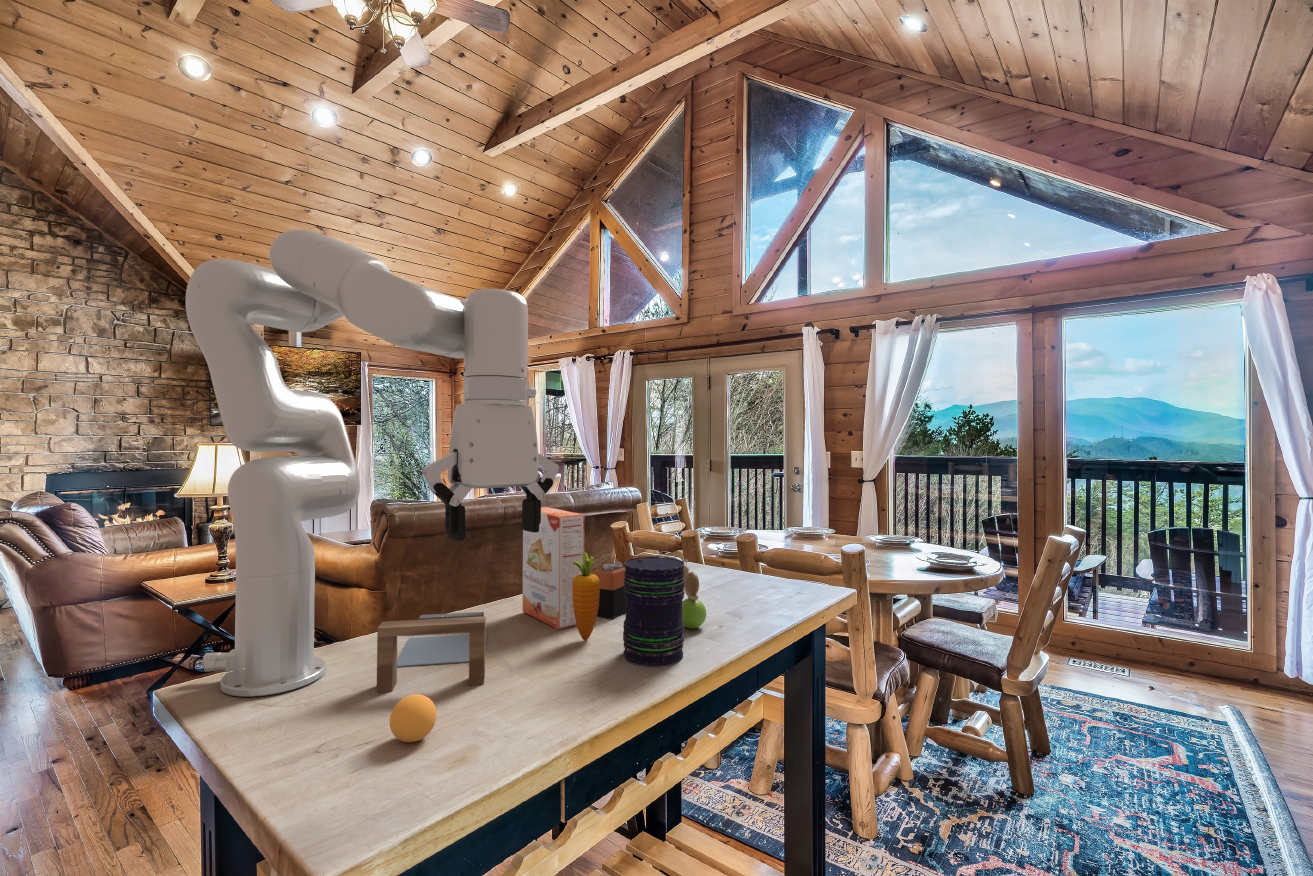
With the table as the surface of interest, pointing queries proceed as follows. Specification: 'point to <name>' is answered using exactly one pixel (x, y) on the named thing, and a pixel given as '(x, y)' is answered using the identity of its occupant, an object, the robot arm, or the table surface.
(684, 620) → the snail figurine
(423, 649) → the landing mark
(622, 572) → the battery
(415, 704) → the ball
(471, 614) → the wall
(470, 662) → the bridge
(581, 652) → the table surface
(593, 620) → the carrot
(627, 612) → the dark blue cylinder
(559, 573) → the cracker box
